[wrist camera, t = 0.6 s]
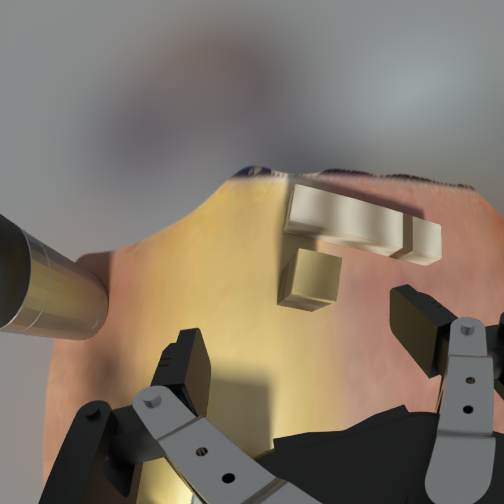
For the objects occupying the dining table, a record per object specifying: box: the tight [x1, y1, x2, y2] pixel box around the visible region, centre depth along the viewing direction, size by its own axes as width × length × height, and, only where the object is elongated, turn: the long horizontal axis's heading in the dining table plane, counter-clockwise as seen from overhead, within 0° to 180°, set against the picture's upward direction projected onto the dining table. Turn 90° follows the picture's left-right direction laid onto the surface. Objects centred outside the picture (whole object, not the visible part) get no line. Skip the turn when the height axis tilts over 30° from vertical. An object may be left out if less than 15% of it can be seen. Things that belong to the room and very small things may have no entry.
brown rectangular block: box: [277, 248, 342, 312], centre depth 33 cm, size 4×4×9 cm
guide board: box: [284, 184, 442, 266], centre depth 38 cm, size 22×5×4 cm, turn 79°
